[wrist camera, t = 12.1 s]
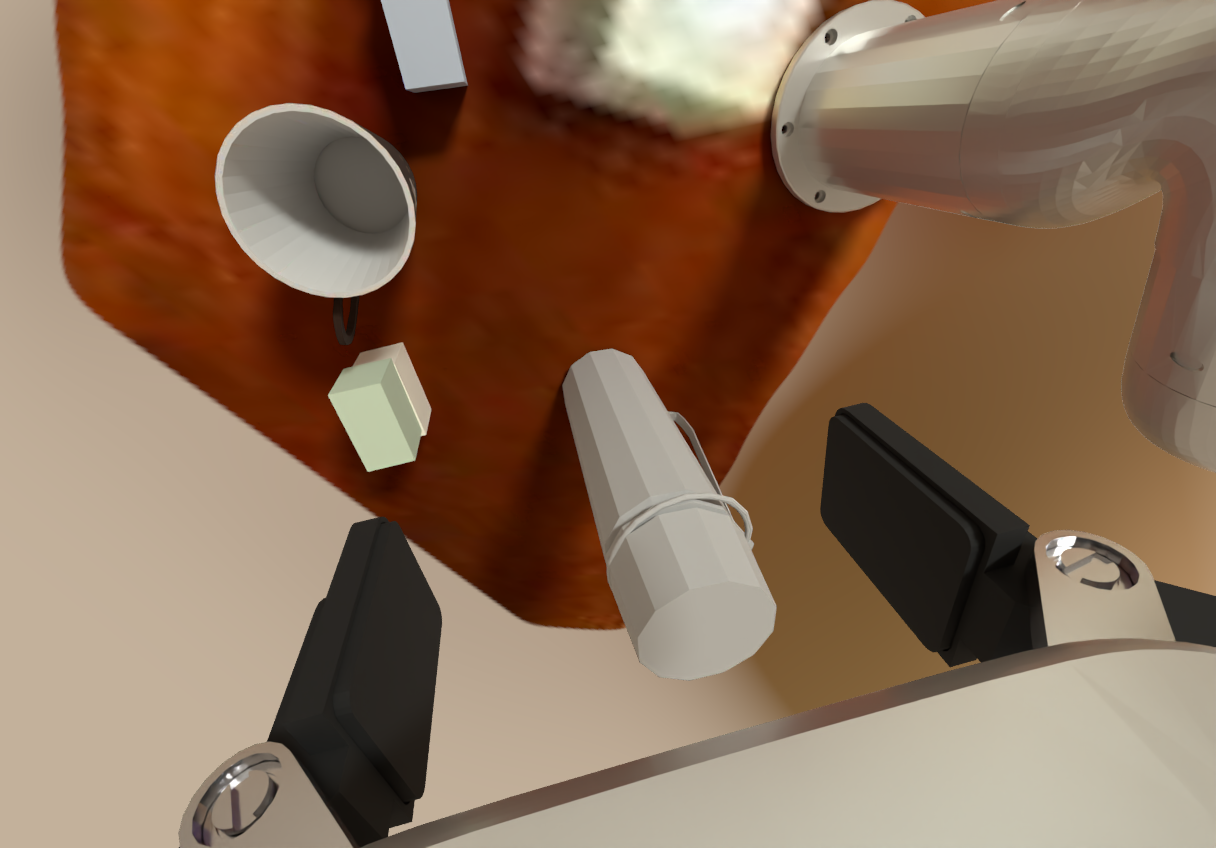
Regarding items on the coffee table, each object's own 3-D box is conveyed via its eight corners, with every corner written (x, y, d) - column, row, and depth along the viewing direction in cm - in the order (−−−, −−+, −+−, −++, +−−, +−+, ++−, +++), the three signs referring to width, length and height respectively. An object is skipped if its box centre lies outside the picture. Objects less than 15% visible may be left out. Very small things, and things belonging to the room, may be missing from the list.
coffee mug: (321, 73, 30) (253, 54, 21) (458, 167, 33) (446, 183, 25) (251, 246, 33) (170, 289, 25) (382, 314, 37) (349, 371, 29)
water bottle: (554, 422, 44) (610, 694, 23) (566, 336, 41) (646, 568, 20) (654, 427, 47) (787, 680, 26) (674, 347, 43) (849, 565, 22)
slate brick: (380, -37, 28) (364, -59, 25) (439, -44, 28) (431, -66, 25) (415, 92, 31) (405, 89, 28) (467, 85, 31) (464, 81, 28)
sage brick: (343, 368, 35) (327, 395, 31) (391, 357, 35) (380, 383, 32) (378, 440, 38) (367, 472, 34) (422, 430, 38) (415, 460, 35)
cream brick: (360, 352, 38) (347, 374, 35) (402, 342, 39) (394, 363, 35) (392, 419, 42) (383, 445, 38) (431, 409, 42) (426, 434, 38)
